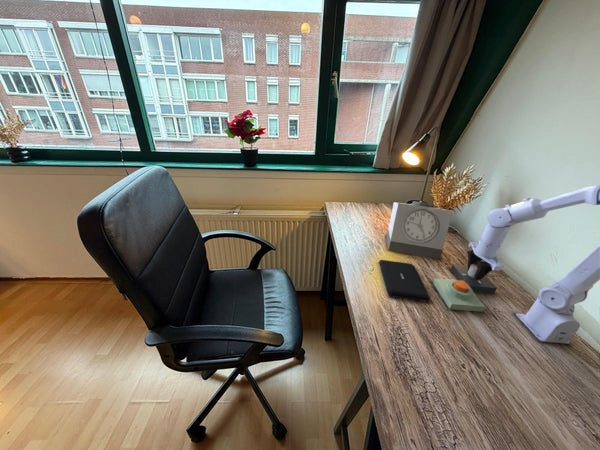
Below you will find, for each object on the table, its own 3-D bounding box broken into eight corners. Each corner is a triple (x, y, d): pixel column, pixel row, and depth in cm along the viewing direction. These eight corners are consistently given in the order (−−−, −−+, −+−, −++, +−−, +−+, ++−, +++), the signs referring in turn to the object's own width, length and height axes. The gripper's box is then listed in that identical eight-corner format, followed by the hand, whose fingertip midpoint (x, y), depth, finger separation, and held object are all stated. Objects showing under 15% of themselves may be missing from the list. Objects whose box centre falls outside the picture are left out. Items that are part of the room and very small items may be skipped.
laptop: (421, 268, 93) (422, 264, 93) (431, 306, 76) (433, 301, 75) (378, 260, 97) (379, 255, 96) (378, 294, 80) (380, 289, 79)
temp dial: (482, 279, 86) (487, 270, 84) (471, 278, 86) (475, 269, 84) (476, 272, 89) (480, 263, 88) (465, 271, 89) (469, 262, 88)
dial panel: (494, 293, 83) (497, 287, 82) (467, 291, 84) (470, 285, 82) (473, 271, 94) (476, 265, 93) (450, 269, 94) (452, 263, 93)
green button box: (482, 311, 76) (487, 302, 74) (449, 309, 76) (454, 299, 74) (461, 285, 86) (465, 276, 84) (432, 283, 86) (436, 274, 85)
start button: (469, 293, 78) (471, 289, 77) (456, 292, 78) (458, 287, 77) (462, 284, 81) (464, 280, 80) (450, 283, 81) (452, 279, 80)
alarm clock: (388, 250, 103) (400, 206, 94) (385, 232, 117) (396, 192, 108) (440, 259, 100) (458, 214, 90) (431, 240, 113) (446, 199, 104)
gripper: (518, 255, 74) (499, 289, 81) (488, 232, 87) (473, 262, 94) (495, 253, 75) (477, 287, 81) (468, 230, 87) (455, 261, 94)
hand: (474, 274), depth 87 cm, fingers closed on temp dial, 4 cm apart
